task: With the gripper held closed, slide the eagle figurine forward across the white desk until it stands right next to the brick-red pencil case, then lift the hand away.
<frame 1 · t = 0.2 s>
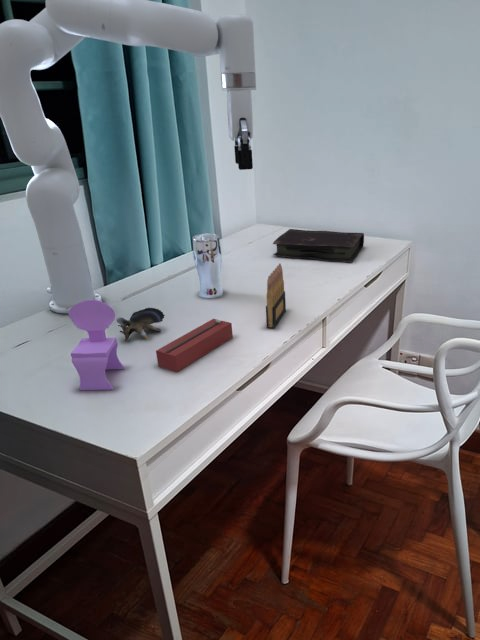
hand: (243, 166, 127), 31 cm above the table, tool pointing down, fingers open, 9 cm apart
pencil case: (197, 351, 112), on the table
beer glass: (211, 295, 141), on the table
diary: (319, 253, 172), on the table
eagle figurine: (143, 337, 119), on the table
ammunition clip: (276, 320, 126), on the table
toy chair: (102, 380, 103), on the table
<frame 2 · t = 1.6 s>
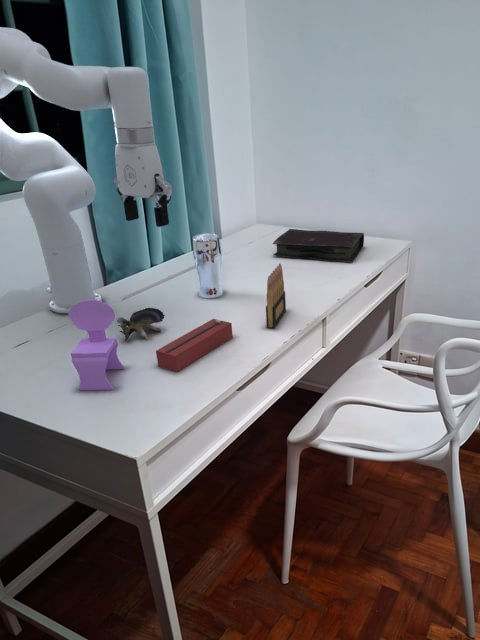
hand: (147, 222, 118), 22 cm above the table, tool pointing down, fingers open, 9 cm apart
nothing on the table moved.
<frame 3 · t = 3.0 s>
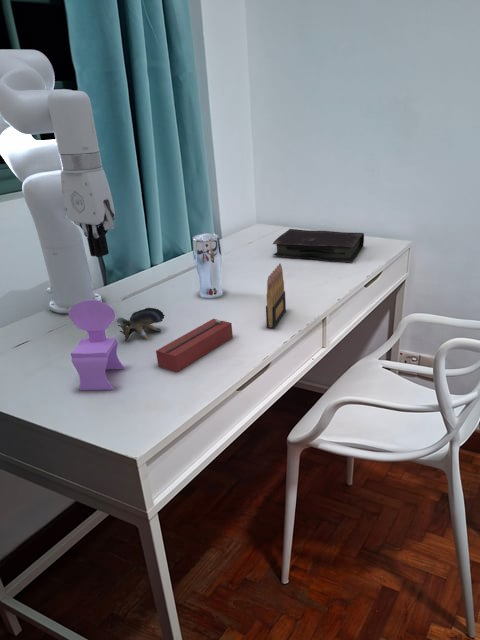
hand: (99, 254, 115), 17 cm above the table, tool pointing down, fingers closed
nothing on the table moved.
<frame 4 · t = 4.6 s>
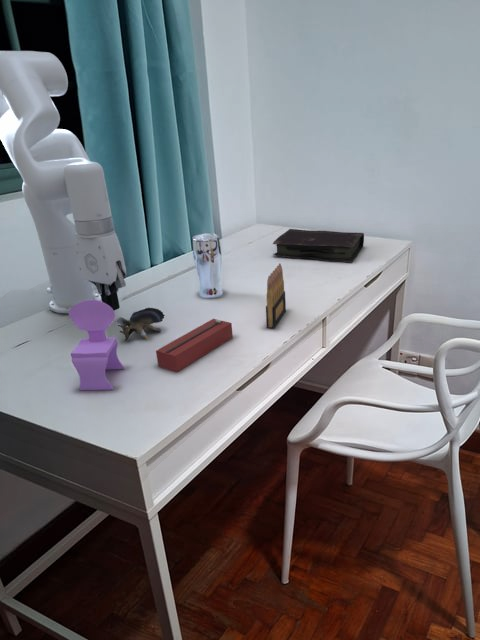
hand: (112, 309, 121), 5 cm above the table, tool pointing down, fingers closed
nothing on the table moved.
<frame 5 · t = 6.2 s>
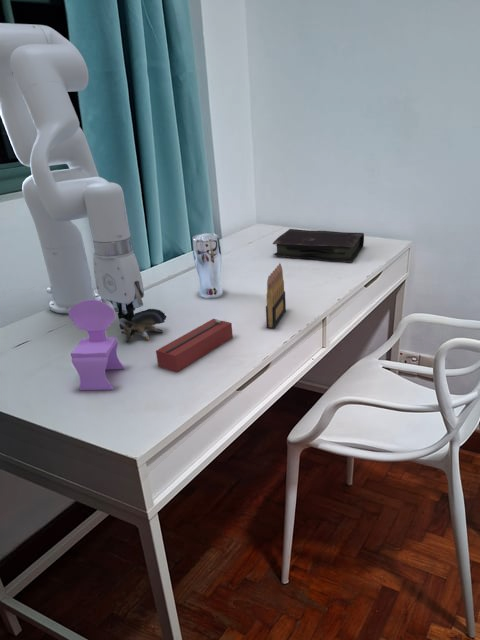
hand: (128, 327, 121), 1 cm above the table, tool pointing down, fingers closed
eagle figurine: (144, 338, 119), on the table, touching gripper
everything else where it was.
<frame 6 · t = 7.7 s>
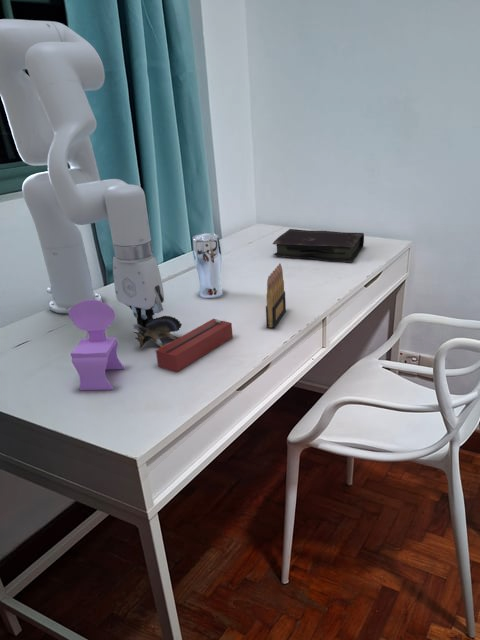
hand: (147, 333, 118), 1 cm above the table, tool pointing down, fingers closed
eagle figurine: (159, 345, 116), on the table, touching gripper
everything else where it was.
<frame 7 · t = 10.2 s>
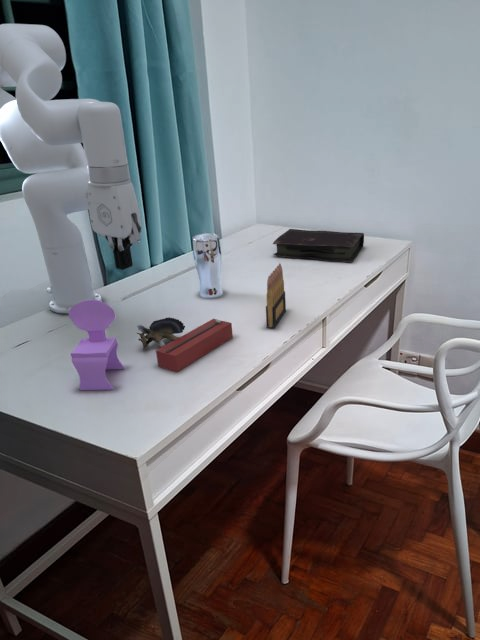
hand: (124, 267, 113), 15 cm above the table, tool pointing down, fingers closed
eagle figurine: (162, 347, 115), on the table
everything else where it was.
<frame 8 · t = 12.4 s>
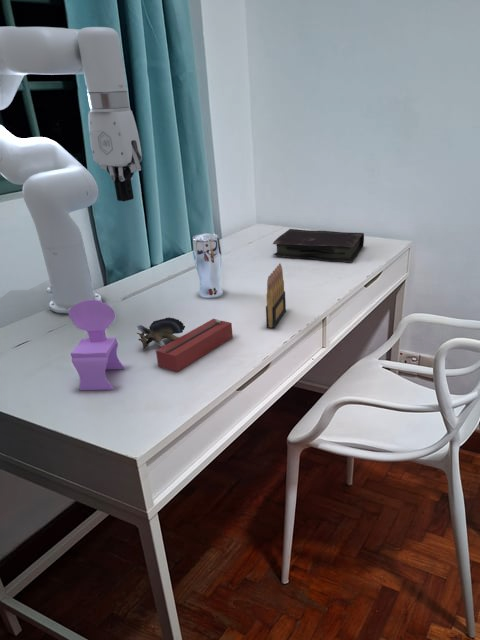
hand: (125, 199, 115), 27 cm above the table, tool pointing down, fingers closed
nothing on the table moved.
at the end: eagle figurine 1.9 cm from the target spot, on the table; eagle figurine 8.3 cm from the pencil case (horizontally); eagle figurine tilted 0° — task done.
